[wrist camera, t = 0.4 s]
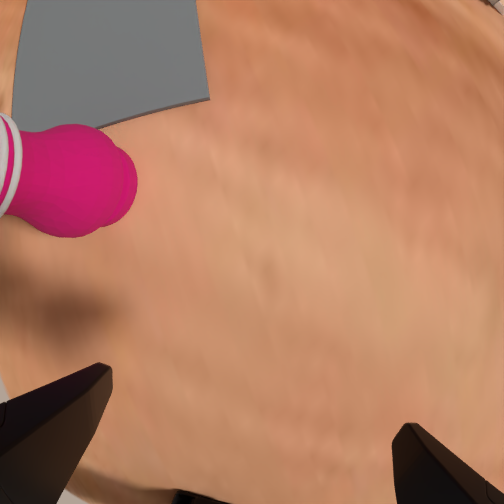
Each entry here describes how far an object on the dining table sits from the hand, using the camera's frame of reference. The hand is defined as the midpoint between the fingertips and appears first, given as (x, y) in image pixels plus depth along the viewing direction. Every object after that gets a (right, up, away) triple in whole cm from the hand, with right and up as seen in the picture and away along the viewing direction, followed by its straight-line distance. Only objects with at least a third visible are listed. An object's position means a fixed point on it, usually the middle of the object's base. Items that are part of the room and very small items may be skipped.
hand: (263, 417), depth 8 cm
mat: (-14, +25, +12) cm, 31 cm away
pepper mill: (-12, +10, +14) cm, 21 cm away
